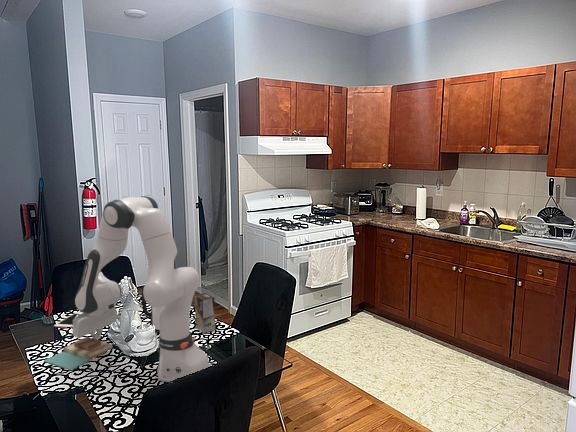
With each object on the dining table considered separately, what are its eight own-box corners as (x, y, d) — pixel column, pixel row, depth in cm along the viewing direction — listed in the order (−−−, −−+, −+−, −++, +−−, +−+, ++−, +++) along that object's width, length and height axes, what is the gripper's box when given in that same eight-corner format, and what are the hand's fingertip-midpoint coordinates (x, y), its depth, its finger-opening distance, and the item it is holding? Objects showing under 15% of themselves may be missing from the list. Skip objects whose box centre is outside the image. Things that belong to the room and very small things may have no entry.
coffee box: (216, 330, 200) (215, 297, 197) (203, 333, 196) (202, 300, 194) (207, 323, 207) (206, 292, 205) (195, 327, 203) (194, 295, 201)
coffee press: (179, 320, 212) (177, 261, 207) (184, 332, 197) (181, 270, 192) (143, 325, 205) (139, 265, 201) (144, 338, 191) (141, 274, 186)
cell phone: (92, 314, 220) (92, 312, 220) (70, 328, 203) (70, 326, 202) (77, 313, 222) (77, 311, 221) (53, 327, 204) (53, 325, 204)
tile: (101, 345, 180) (100, 340, 179) (89, 351, 174) (88, 346, 174) (86, 341, 184) (86, 336, 183) (74, 346, 178) (74, 342, 178)
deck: (112, 348, 181) (112, 344, 180) (90, 360, 171) (90, 355, 171) (86, 341, 188) (86, 337, 187) (64, 352, 178) (63, 347, 177)
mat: (90, 360, 171) (90, 359, 171) (70, 370, 163) (70, 369, 163) (63, 352, 177) (63, 351, 177) (43, 361, 170) (43, 360, 170)
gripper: (78, 318, 170) (80, 350, 172) (118, 302, 188) (120, 331, 190) (67, 315, 173) (70, 347, 175) (108, 300, 191) (110, 329, 193)
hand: (96, 339), depth 183 cm, fingers closed
